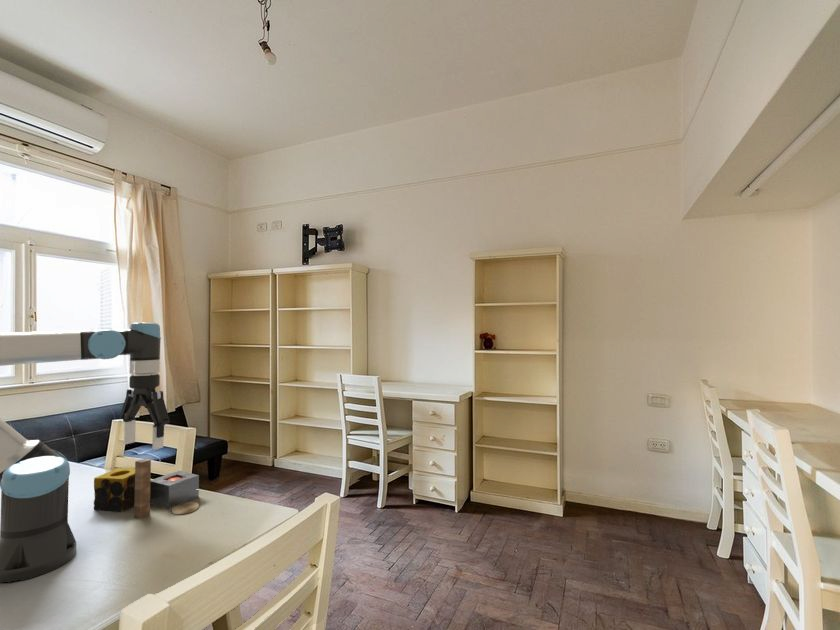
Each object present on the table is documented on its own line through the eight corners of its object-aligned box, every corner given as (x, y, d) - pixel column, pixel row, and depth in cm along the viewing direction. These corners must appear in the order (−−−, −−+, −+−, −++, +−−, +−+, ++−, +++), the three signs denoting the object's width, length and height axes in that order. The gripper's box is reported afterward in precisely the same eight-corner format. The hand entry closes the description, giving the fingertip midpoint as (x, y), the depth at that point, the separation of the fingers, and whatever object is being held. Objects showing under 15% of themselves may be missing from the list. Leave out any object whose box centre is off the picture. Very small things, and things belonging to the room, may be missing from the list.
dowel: (140, 518, 119) (141, 462, 119) (134, 516, 120) (135, 461, 120) (149, 514, 121) (150, 459, 122) (144, 512, 122) (145, 458, 123)
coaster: (181, 516, 120) (181, 514, 120) (166, 511, 123) (166, 509, 123) (203, 506, 126) (203, 505, 126) (188, 502, 129) (188, 500, 129)
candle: (148, 498, 133) (149, 467, 133) (123, 512, 123) (124, 478, 123) (120, 497, 134) (120, 466, 134) (92, 510, 124) (93, 477, 124)
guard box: (168, 508, 125) (168, 485, 125) (148, 503, 129) (148, 480, 129) (198, 496, 134) (198, 475, 134) (178, 491, 138) (179, 470, 138)
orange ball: (172, 495, 129) (172, 482, 129) (164, 493, 130) (164, 480, 131) (183, 490, 132) (183, 478, 132) (176, 488, 134) (176, 476, 134)
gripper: (184, 374, 120) (182, 447, 119) (133, 371, 131) (131, 437, 130) (158, 377, 113) (157, 454, 113) (106, 373, 124) (105, 443, 123)
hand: (143, 445), depth 121 cm, fingers open, 13 cm apart
